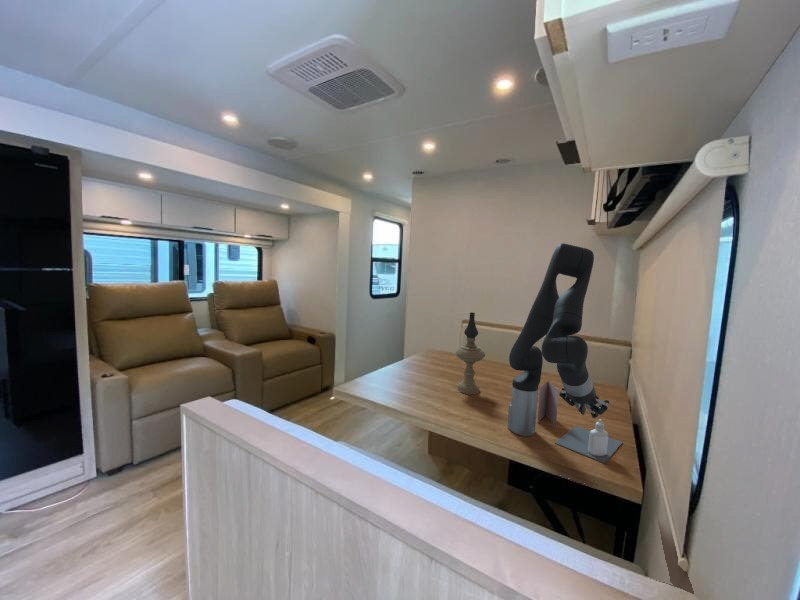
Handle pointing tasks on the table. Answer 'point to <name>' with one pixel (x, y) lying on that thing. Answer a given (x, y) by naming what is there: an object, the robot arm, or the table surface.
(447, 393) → the table surface
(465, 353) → the oil lamp
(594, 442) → the eye dropper bottle
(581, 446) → the mat
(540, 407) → the greeting card
